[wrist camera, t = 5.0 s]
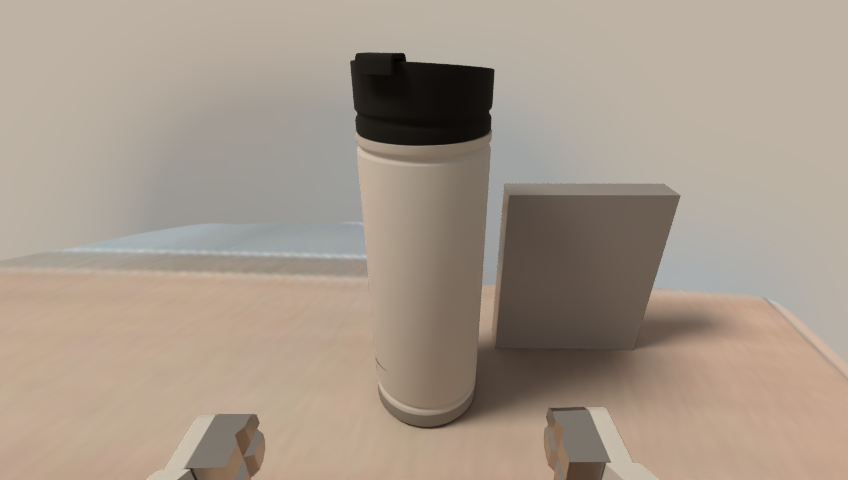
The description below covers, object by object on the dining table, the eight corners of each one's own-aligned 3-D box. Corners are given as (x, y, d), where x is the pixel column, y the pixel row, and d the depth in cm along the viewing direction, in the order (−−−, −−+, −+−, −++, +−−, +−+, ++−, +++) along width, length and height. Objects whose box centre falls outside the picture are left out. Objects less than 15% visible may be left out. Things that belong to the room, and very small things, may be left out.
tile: (633, 350, 29) (680, 195, 24) (495, 347, 29) (509, 195, 24) (621, 329, 31) (662, 182, 26) (491, 327, 31) (503, 182, 26)
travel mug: (355, 402, 25) (309, 52, 16) (414, 342, 30) (405, 46, 21) (440, 453, 22) (444, 55, 13) (490, 376, 27) (520, 47, 18)
